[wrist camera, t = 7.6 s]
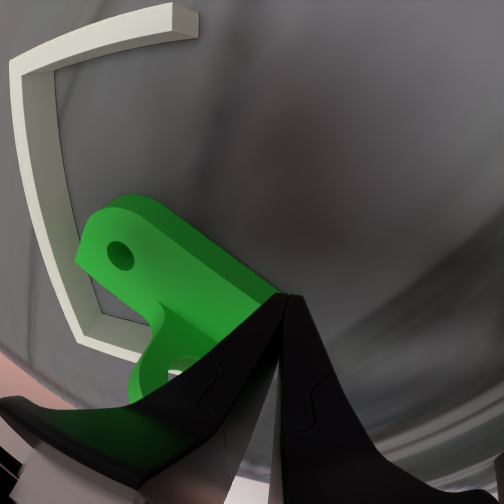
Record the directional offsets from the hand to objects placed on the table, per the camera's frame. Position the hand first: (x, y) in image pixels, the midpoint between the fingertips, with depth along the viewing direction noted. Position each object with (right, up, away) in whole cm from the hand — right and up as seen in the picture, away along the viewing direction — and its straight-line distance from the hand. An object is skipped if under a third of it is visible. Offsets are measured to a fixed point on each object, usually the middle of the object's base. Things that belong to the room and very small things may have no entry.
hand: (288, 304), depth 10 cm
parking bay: (-8, +4, +7) cm, 11 cm away
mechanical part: (-5, 0, +8) cm, 10 cm away
